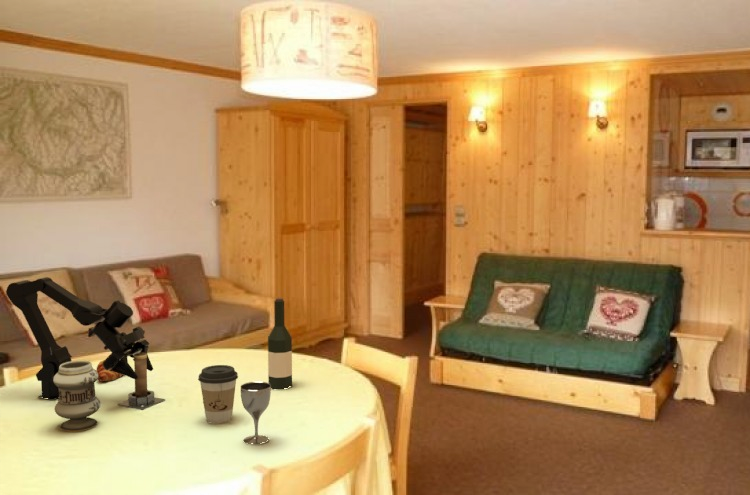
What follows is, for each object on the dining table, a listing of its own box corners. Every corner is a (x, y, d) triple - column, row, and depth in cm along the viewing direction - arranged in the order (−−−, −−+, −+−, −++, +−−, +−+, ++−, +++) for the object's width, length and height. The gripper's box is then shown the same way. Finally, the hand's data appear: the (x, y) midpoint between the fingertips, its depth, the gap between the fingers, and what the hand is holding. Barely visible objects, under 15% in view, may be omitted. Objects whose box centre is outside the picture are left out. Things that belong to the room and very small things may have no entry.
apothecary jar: (56, 421, 207) (54, 360, 205) (101, 416, 211) (99, 356, 209) (54, 435, 195) (51, 371, 194) (101, 430, 200) (98, 367, 198)
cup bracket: (142, 409, 217) (142, 400, 216) (117, 405, 221) (117, 396, 220) (165, 400, 226) (164, 391, 225) (140, 396, 230) (140, 387, 229)
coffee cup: (199, 427, 202) (198, 376, 200) (198, 414, 212) (197, 365, 211) (240, 424, 205) (239, 373, 203) (237, 411, 216) (236, 362, 214)
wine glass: (257, 432, 198) (257, 379, 197) (277, 439, 193) (276, 385, 192) (235, 440, 192) (234, 386, 190) (255, 448, 187) (254, 392, 185)
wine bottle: (288, 390, 236) (287, 301, 233) (264, 389, 237) (262, 300, 234) (295, 383, 244) (295, 296, 241) (272, 382, 246) (271, 295, 242)
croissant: (113, 376, 263) (102, 358, 263) (137, 363, 264) (126, 345, 263) (94, 393, 242) (82, 373, 242) (121, 379, 243) (109, 359, 242)
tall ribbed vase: (132, 402, 222) (131, 355, 220) (138, 399, 225) (137, 352, 224) (143, 403, 221) (142, 356, 219) (150, 400, 225) (149, 353, 223)
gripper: (110, 326, 212) (145, 365, 211) (142, 314, 230) (175, 349, 229) (87, 351, 214) (122, 389, 213) (121, 337, 233) (153, 372, 232)
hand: (144, 374), depth 222 cm, fingers open, 9 cm apart
